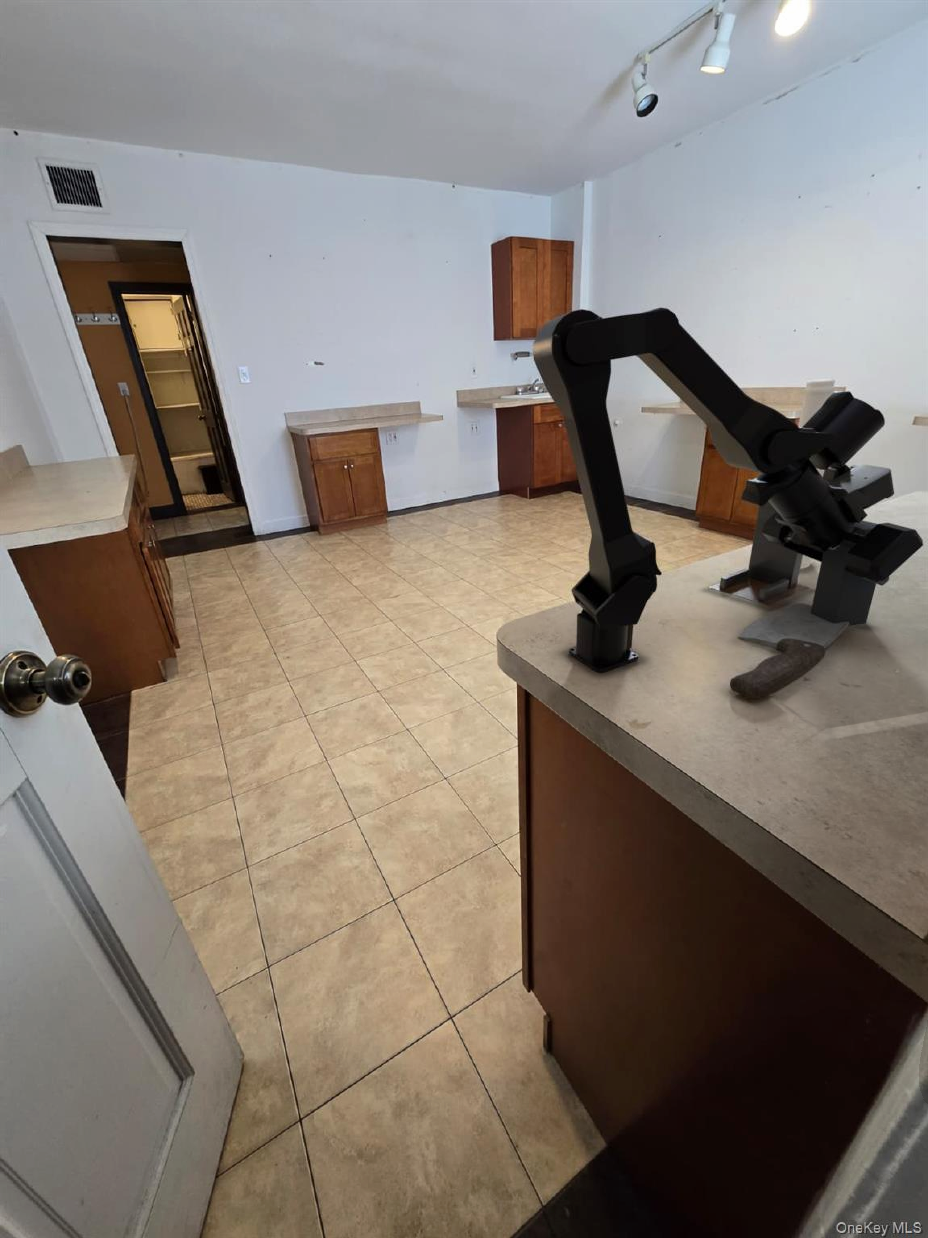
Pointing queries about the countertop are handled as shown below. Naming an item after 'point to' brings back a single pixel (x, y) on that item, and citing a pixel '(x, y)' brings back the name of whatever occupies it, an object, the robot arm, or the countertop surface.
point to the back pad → (842, 588)
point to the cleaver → (785, 648)
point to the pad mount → (765, 569)
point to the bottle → (812, 403)
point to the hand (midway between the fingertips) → (862, 573)
